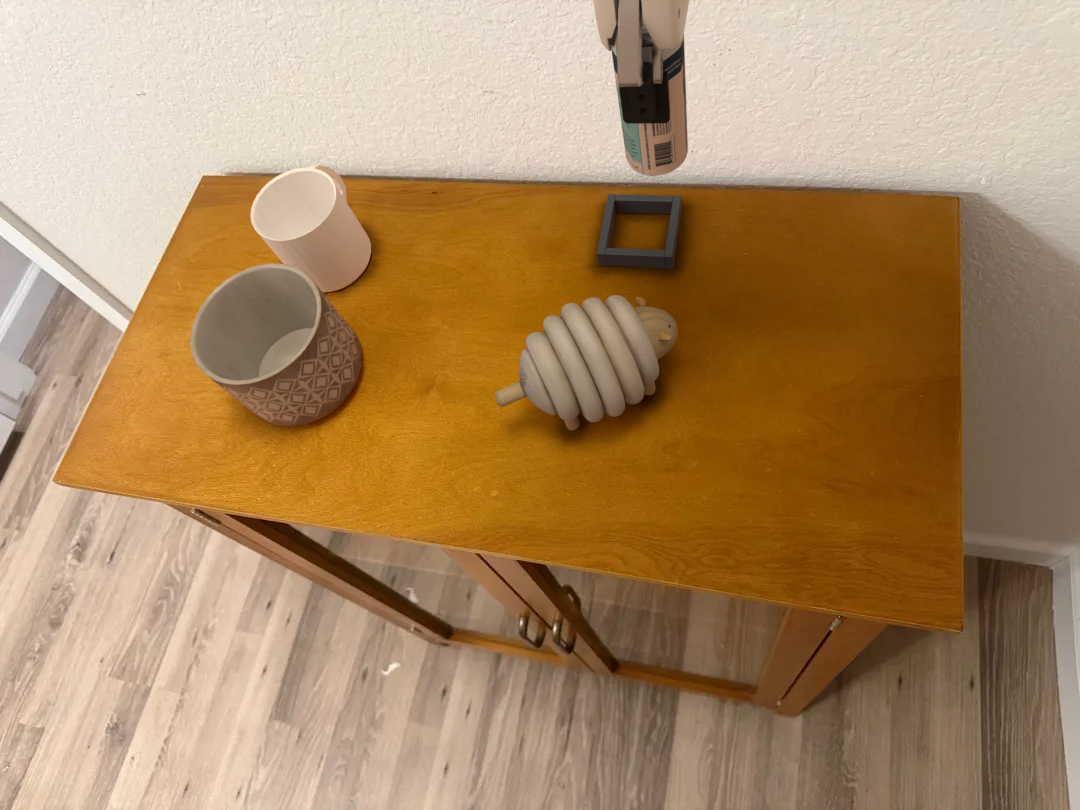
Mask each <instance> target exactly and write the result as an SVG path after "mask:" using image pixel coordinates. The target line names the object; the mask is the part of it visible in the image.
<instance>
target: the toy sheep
mask: <svg viewBox="0 0 1080 810" xmlns="http://www.w3.org/2000/svg"><path fill="white" fill-rule="evenodd" d="M559 315H560V316H558V315H555V314H552V315H551V314H550V315H548V316H545V318H544V319H543V321H542V330H543V331H534V332H531V333H530V334H529V335H528V336H527V337H526V339H525V346H526V348H524V349H523V350H522V351H521V354H520V356H519V357H520V358H519V362H518V378H519V381H517V382H514V383H511V384H509V385H507V386H505V387H502V388H500V389H498V390H496V391H495V392H494V399H495V401H496V404H497V405H498V407H501V408H505V407H507V406H509V405H512V404H513V403H516V402H518V401H521V400H523V399H526V398H528V400H529V401H530V402H531V403H532V404H533V405H534V406H535V407H536V408H538V409H539V410H540V411H543V412H544V413H547V414H549V415H551V416H556V415H557V414H558V416H559V418H560V419H561V420H563V421H564V425H565V427H566V428H567V429H568V430H569V431H576V430H577V429H578V428H579V427H580V420H579V417H578V416H579V415H580V413H581V414H582V416H583V417H584V418H585V420H587V421H588V422H590V423H597V422H599V421H601V420H602V419H603V417H604V416H605V415H604V414H606V415H607V416H609V417H611V418H612V417H615V418H616V417H620V416H621V415H622V414H623V413H624V412H625V409H626V404H628V405H636V404H639V403H640V402H641V401H642V400H643V399H644V397H645V396H652V395H653V394H655V392H656V382H655V381H656V380H657V379H658V377H659V375H660V365H659V361H658V360H659V359H661V358H662V357H664V356H665V355H666V354H667V353H668V352H669V351H670V350H671V349H672V348H673V346H674V345H675V343H676V341H677V339H678V333H679V332H678V331H679V329H678V324H677V322H676V319H674V317H673V315H671V314H670V313H668V312H667V311H665V310H664V309H661V308H658V307H653V306H647V299H645V298H644V297H641V296H636V297H635V306H632V304H631V303H630V302H629V300H628V299H626V298H625V297H624V296H622V295H619V294H613V295H610V296H608V297H607V299H605V301H604V302H603V301H602V299H600V298H599V297H588V298H586V299H585V300H584V301H583V302H582V304H581V306H580V305H579V304H577V303H574V302H568V303H566V304H564V305H563V307H562V308H561V310H560V313H559Z"/></svg>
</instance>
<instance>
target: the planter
mask: <svg viewBox="0 0 1080 810" xmlns="http://www.w3.org/2000/svg"><path fill="white" fill-rule="evenodd" d="M189 344H190V345H189V346H190V352H191V356H192V358H193V361H194V362H195V365H196V367H197V368H198V369H199V370H200V371H201V372H202V373H203V374H204V375H205V376H206V377H208V378H209V379H210V380H211V381H213V382H214V383H216V385H217V386H219V387H221V389H223V390H224V391H225V392H226V393H228V394H229V395H231V396H232V397H233V398H234V399H235V400H237V401H238V402H239V403H241V404H242V405H243V406H244V407H246V408H247V409H248V410H250V411H251V412H252V413H253V414H254V415H255V416H257V417H258V418H260V419H261V420H263V421H264V422H267V423H269V424H271V425H275V426H280V427H298V426H303V425H307V424H310V423H313V422H316V421H318V420H320V419H322V418H324V417H326V416H327V415H329V414H330V413H332V412H333V411H334V410H335V409H337V408H338V407H339V406H340V405H341V404H342V403H343V402H344V401H345V400H346V399H347V397H348V396H349V395H350V393H351V392H352V390H353V388H354V387H355V384H356V383H357V381H358V378H359V375H360V372H361V367H362V358H363V357H362V355H363V354H362V347H361V344H360V340H359V338H358V336H357V335H356V333H355V331H354V330H353V328H352V327H351V326H350V325H349V323H348V322H347V321H346V320H345V318H344V317H343V316H342V315H341V314H340V312H339V311H338V310H337V309H336V307H335V306H334V305H333V303H332V302H331V301H330V300H329V298H328V297H327V296H326V295H325V293H324V292H322V291H321V290H320V289H319V287H318V286H317V285H316V284H315V282H314V281H313V280H312V279H311V277H310V276H309V275H307V274H306V273H305V272H304V271H302V270H300V269H298V268H296V267H294V266H291V265H287V264H283V263H280V262H279V263H278V262H271V263H270V262H268V263H263V264H262V263H261V264H256V265H252V266H250V267H247V268H245V269H242V270H240V271H238V272H236V273H234V274H233V275H231V276H230V277H228V278H226V279H225V280H223V281H222V282H221V283H220V284H219V285H217V287H215V289H213V290H212V292H210V294H209V295H208V296H207V297H206V298H205V299H204V301H203V302H202V304H201V305H200V307H199V309H198V311H197V313H196V315H195V317H194V319H193V322H192V326H191V330H190V337H189Z"/></svg>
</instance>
